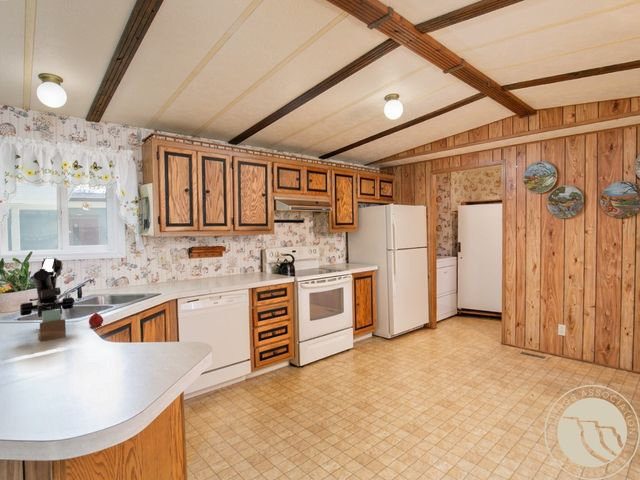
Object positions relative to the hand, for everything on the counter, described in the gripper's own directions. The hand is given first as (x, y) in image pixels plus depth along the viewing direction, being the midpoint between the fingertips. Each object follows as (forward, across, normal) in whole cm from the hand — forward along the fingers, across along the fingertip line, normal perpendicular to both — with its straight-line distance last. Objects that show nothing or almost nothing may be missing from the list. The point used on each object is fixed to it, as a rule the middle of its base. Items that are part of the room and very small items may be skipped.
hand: (50, 321), depth 150 cm
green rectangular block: (+6, 0, +4) cm, 7 cm away
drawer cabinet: (+4, 0, +7) cm, 9 cm away
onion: (+2, +18, +10) cm, 21 cm away
